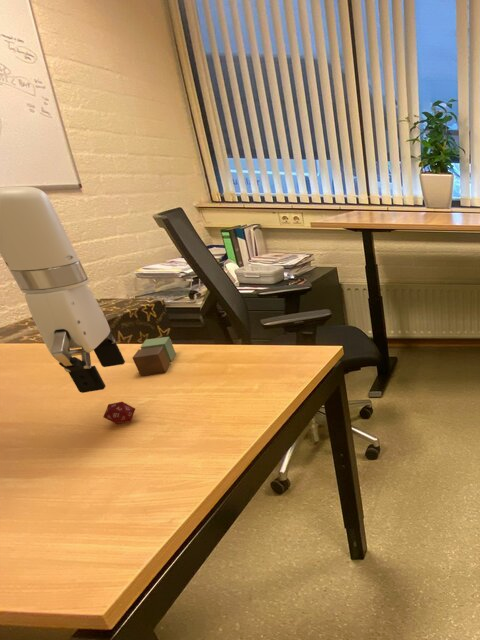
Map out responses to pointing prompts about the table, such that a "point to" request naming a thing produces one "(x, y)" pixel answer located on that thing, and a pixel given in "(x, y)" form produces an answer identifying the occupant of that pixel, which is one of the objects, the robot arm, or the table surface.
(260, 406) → the table surface
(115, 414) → the dice
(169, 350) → the sage block
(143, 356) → the walnut block
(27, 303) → the robot arm
